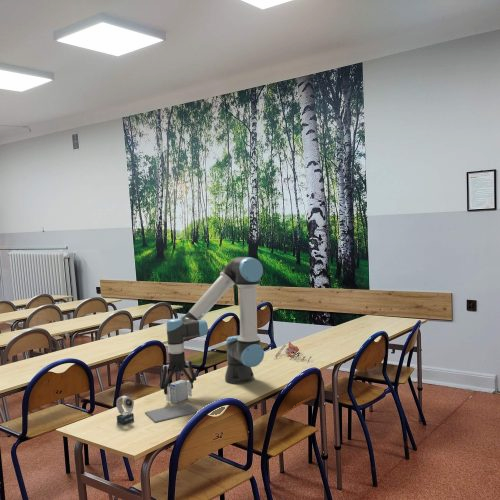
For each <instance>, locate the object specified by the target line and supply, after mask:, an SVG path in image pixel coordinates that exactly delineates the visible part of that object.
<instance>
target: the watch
mask: <svg viewBox="0 0 500 500" xmlns="http://www.w3.org/2000/svg"><path fill="white" fill-rule="evenodd" d="M121 401H122V402H121ZM134 402H135V401H134V400H133V398H132V397H129V395H128V396H127V395H121V396H120V397H118V398H117V399H116V408H117V411H118V413H119V414H118V415H116V423H117V425H123V426H125V425H127V424H129V423H132V422H134V421H135V418H134V417H135V415H134V413H133V410H134V406H135V405H134V404H135V403H134ZM124 408H125V409H124ZM125 410H126V411H125Z"/></svg>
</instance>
